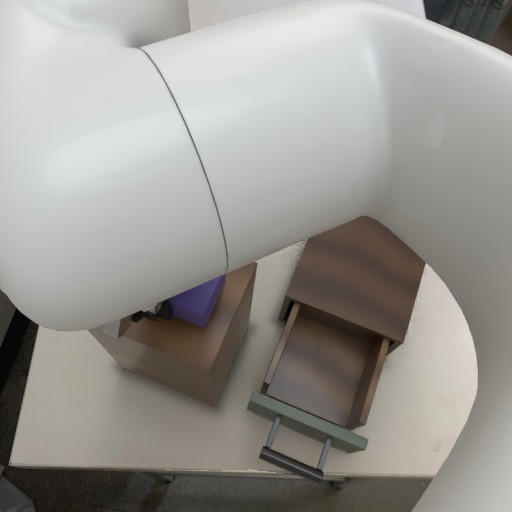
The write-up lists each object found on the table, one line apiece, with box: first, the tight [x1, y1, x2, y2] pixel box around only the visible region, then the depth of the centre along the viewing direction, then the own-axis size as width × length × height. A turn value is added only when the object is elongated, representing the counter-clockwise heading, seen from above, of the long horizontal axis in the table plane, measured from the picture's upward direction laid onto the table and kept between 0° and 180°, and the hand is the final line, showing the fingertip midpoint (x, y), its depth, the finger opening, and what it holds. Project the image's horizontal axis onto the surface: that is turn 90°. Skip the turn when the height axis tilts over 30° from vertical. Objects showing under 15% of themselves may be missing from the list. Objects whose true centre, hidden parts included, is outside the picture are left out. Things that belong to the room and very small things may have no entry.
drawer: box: [246, 302, 390, 486], centre depth 58 cm, size 19×13×8 cm
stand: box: [87, 261, 258, 408], centre depth 54 cm, size 11×13×22 cm
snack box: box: [168, 274, 226, 328], centre depth 42 cm, size 4×9×4 cm, turn 68°
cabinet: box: [277, 216, 427, 357], centre depth 65 cm, size 16×15×10 cm
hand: (168, 284), depth 43 cm, fingers closed on snack box, 4 cm apart
